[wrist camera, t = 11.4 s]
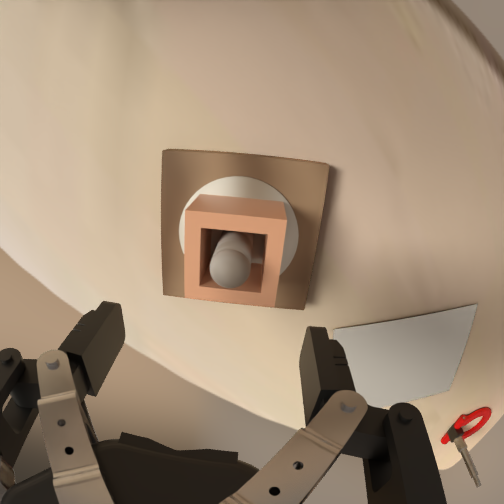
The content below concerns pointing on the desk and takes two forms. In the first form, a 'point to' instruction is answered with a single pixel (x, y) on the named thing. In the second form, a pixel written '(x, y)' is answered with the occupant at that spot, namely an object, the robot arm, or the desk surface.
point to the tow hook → (458, 437)
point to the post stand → (234, 242)
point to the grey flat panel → (406, 355)
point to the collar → (233, 219)
